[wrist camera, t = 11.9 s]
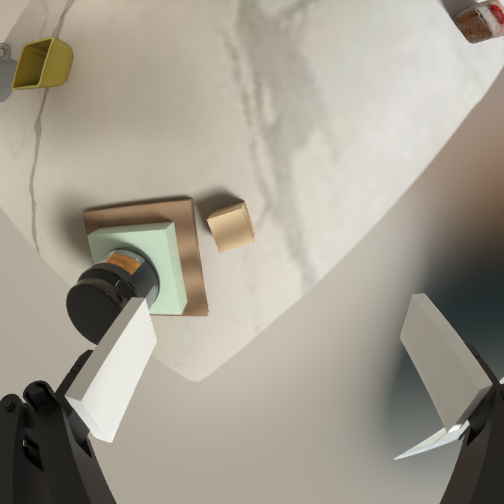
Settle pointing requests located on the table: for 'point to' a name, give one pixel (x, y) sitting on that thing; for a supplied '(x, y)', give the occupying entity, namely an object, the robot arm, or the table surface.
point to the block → (231, 227)
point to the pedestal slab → (157, 250)
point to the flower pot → (43, 64)
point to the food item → (482, 21)
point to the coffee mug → (6, 72)
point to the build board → (185, 236)
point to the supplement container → (111, 290)
